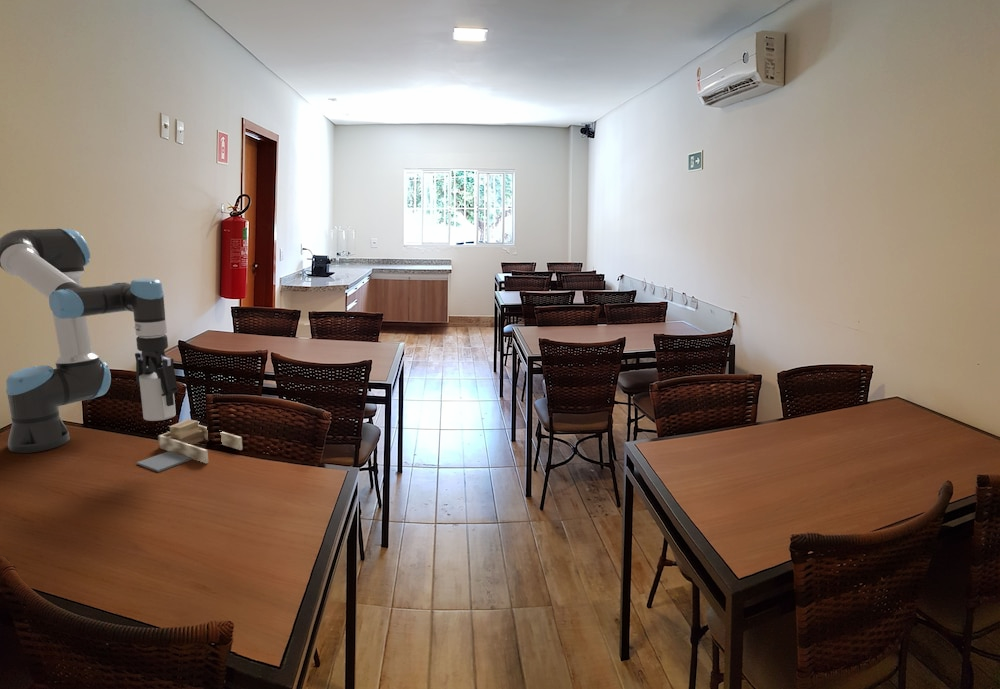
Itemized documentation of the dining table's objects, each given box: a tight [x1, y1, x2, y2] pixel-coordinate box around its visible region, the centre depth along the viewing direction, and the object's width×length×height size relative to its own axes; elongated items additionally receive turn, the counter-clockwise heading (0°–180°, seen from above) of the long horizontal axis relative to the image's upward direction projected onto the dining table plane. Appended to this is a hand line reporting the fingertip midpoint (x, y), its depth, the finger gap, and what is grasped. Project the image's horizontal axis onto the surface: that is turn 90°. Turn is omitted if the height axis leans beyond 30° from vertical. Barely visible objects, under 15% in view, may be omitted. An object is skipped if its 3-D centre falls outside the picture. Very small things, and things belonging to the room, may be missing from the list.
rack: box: [157, 423, 243, 464], centre depth 189 cm, size 22×13×4 cm, turn 62°
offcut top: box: [169, 418, 199, 439], centre depth 192 cm, size 4×7×4 cm, turn 160°
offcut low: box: [169, 430, 204, 445], centre depth 193 cm, size 4×9×4 cm, turn 150°
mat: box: [136, 451, 192, 473], centre depth 179 cm, size 10×10×1 cm
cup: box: [139, 372, 177, 422], centre depth 175 cm, size 8×8×12 cm
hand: (159, 413), depth 176 cm, fingers closed on cup, 8 cm apart
